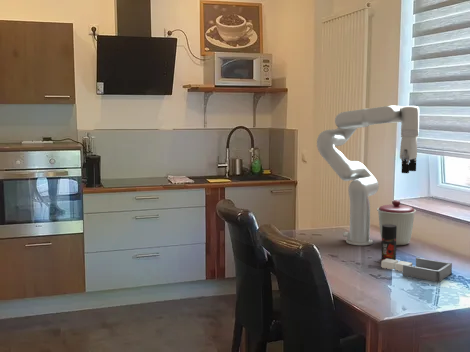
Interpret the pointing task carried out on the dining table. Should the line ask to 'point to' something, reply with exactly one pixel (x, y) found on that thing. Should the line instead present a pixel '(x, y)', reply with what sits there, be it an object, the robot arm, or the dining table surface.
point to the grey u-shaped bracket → (428, 269)
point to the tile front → (401, 265)
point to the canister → (398, 220)
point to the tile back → (389, 263)
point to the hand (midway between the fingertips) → (408, 172)
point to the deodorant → (389, 241)
